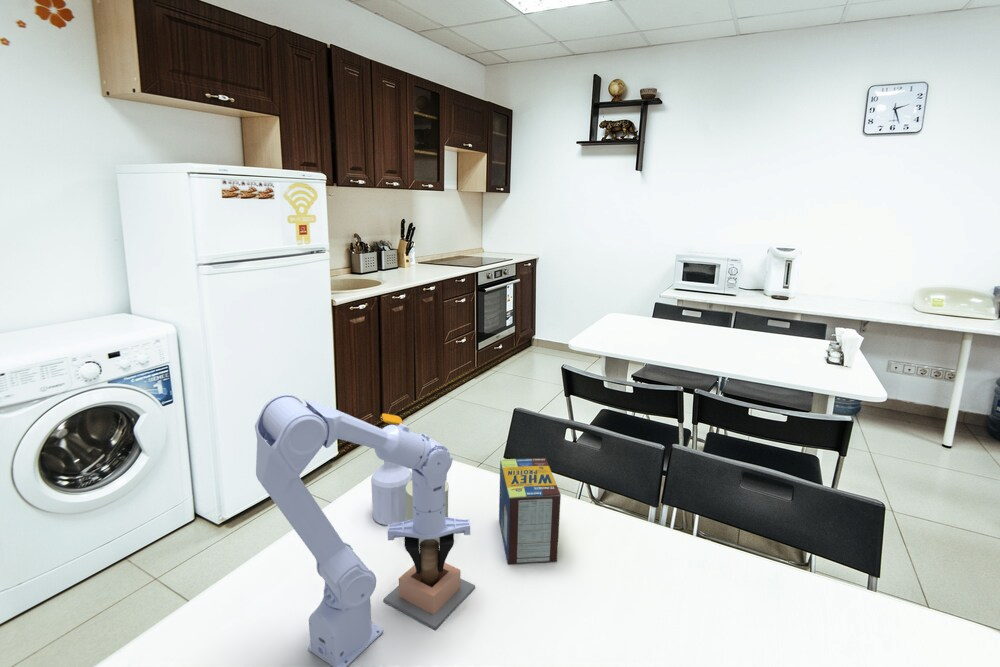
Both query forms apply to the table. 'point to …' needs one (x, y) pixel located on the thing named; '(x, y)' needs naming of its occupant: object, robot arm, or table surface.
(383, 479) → the soap bottle
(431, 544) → the walnut peg
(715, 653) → the table surface
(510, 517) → the protein box
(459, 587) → the terracotta holder
